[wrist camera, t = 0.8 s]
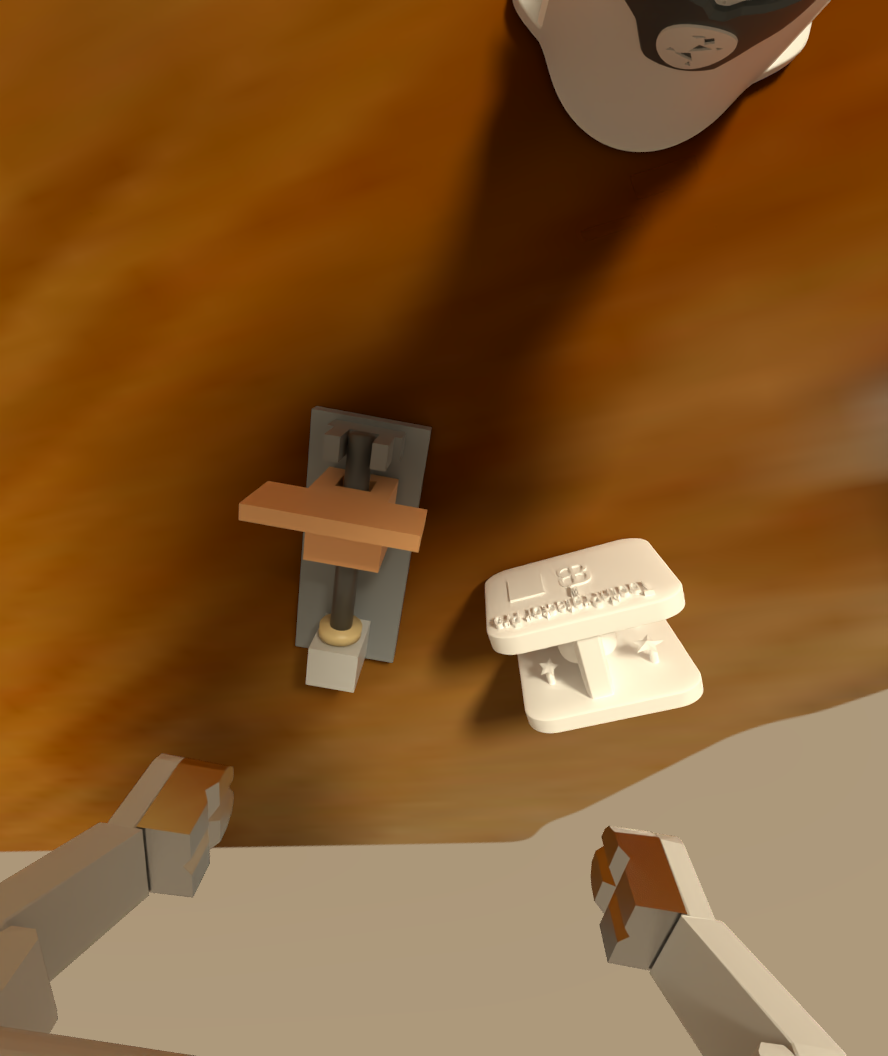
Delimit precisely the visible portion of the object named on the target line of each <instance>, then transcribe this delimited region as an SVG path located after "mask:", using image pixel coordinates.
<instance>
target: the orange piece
mask: <svg viewBox="0 0 888 1056" xmlns="http://www.w3.org/2000/svg"><path fill="white" fill-rule="evenodd" d="M344 477H345V469H340V468H334V467H329V468H328V469H327V470H326V471H325V472H324V473H323V474H322V475H321V476H320V477H319V478H318V479H317V480H316V481H315V482H314V483H313V484H312V485H311V486H310V487H309V488H305V487H300V486H294V485H289V484H283V483H278V482H272V481H267V482H266V483H265V484H263V485H262V486H261V487H259V488H258V489H257V490H255V491H254V492H253V493H252V494H250V495H249V496H248V497H246V498H245V499H244V500H242V501H241V502H240V503H239V520H241V521H246V522H252V523H257V524H263V525H268V526H274V527H280V528H285V529H291V530H296V531H302V532H305V539H304V553H303V560H309V561H314V562H320V563H326V564H331V565H337V566H342V567H348V568H354V569H359V570H365V571H370V572H376V573H378V572H379V569H380V566H381V564H382V561H383V559H384V556H385V553H386V551H387V548H388V547H391V548H396V549H402V550H407V551H413V552H418V551H419V547H420V543H421V539H422V535H423V530H424V526H425V521H426V515H427V509H421V508H415V507H410V506H404V505H399V504H395V502H396V495H397V488H398V481H399V479H395V478H389V477H384V476H378V475H373V474H370V483H369V491H363V490H357V489H352V488H346V487H344Z"/></svg>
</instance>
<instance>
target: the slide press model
mask: <svg viewBox="0 0 888 1056" xmlns="http://www.w3.org/2000/svg"><path fill="white" fill-rule="evenodd" d="M431 430H432V427H429V426H423V425H418V424H412V423H407V422H401V421H396V420H391V419H385V418H380V417H374V416H369V415H363V414H358V413H353V412H347V411H342V410H336V409H331V408H325V407H320V406H316V407H314V408H312V412H311V427H310V441H309V456H308V470H307V485H306V488H309V487H310V486H311V485H312V484H313V483H314V482H315V481H316V480H317V479H318V478H319V477H320V476H321V475H322V474H323V473H324V472H325V471H326V470H327V469H328V468H329V467H334V468H340V469H345V477H344V487H346V488H352V489H357V490H363V491H369V483H370V474H373V475H378V476H384V477H389V478H395V479H399V481H398V488H397V495H396V502H395V504H399V505H404V506H410V507H415V508H419V504H420V497H421V491H422V485H423V479H424V473H425V467H426V461H427V455H428V449H429V443H430V436H431ZM304 539H305V532H303V542H302V557H301V571H300V586H299V600H298V614H297V629H296V643H295V646H299V647H305V648H309V649H308V661H307V673H306V685H312V686H318V687H324V688H329V689H335V690H341V691H346V692H352V693H354V690H355V687H356V684H357V681H358V678H359V675H360V671H361V668H362V665H363V662H364V659H365V658H368V659H373V660H379V661H385V662H390V663H393V660H394V655H395V650H396V644H397V638H398V632H399V626H400V619H401V613H402V607H403V601H404V595H405V589H406V583H407V577H408V571H409V565H410V558H411V552H412V551H407V550H402V549H396V548H391V547H388V548H387V551H386V553H385V556H384V559H383V561H382V564H381V566H380V569H379V572H378V573H376V572H370V571H365V570H359V569H354V568H348V567H342V566H337V565H331V564H326V563H320V562H314V561H309V560H303V553H304Z"/></svg>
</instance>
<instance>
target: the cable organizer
mask: <svg viewBox="0 0 888 1056" xmlns="http://www.w3.org/2000/svg"><path fill="white" fill-rule="evenodd" d="M485 604H486V626H487V633H488V636H489V639H490V642H491V645H492V648H493V649H494V650H495V651H496V652H498V653H501V654H505V655H516V654H518V663H519V670H520V677H521V685H522V692H523V700H524V707H525V712H526V715H527V718H528V721H529V724H530V725H531V727H532V728H534V729H535V730H537V731H539V732H543V733H558V732H563V731H568V730H573V729H578V728H583V727H587V726H592V725H597V724H602V723H607V722H612V721H616V720H621V719H626V718H631V717H636V716H640V715H645V714H650V713H655V712H660V711H665V710H669V709H674V708H679V707H683V706H687V705H689V704H691V703H693V702H695V701H696V700H698V699H699V698H700V697H701V695H702V693H703V684H702V678H701V674H700V672H699V670H698V669H697V667H696V666H695V664H694V663H693V661H692V659H691V658H690V656H689V655H688V653H687V652H686V650H685V649H684V647H683V646H682V644H681V643H680V641H679V640H678V638H677V636H676V635H675V633H674V632H673V630H672V629H671V627H670V626H669V624H668V623H667V621H666V620H665V619H668V618H670V617H672V616H674V615H676V614H678V613H679V612H680V611H681V610H682V609H683V608H684V606H685V599H684V594H683V588H682V584H681V582H680V581H679V580H678V578H677V577H676V576H675V575H674V574H673V572H672V571H671V570H670V569H669V567H668V566H667V565H666V564H665V562H664V561H663V560H662V559H661V557H660V556H659V555H658V554H657V552H656V551H655V550H654V549H653V547H652V546H651V545H650V544H649V542H648V541H646V540H644V539H639V538H628V539H621V540H616V541H612V542H609V543H605V544H601V545H597V546H594V547H590V548H586V549H582V550H579V551H575V552H571V553H567V554H564V555H560V556H556V557H553V558H549V559H545V560H541V561H538V562H534V563H530V564H526V565H523V566H519V567H515V568H511V569H508V570H504V571H502V572H499V573H497V574H495V575H493V576H492V577H490V578H489V579H488V580H487V581H486V583H485Z"/></svg>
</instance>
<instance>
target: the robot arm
mask: <svg viewBox="0 0 888 1056" xmlns="http://www.w3.org/2000/svg"><path fill="white" fill-rule="evenodd" d="M512 1H513V5H514V7H515V10H516V12H517V13H518V15H519V17H520V18H521V20H522V21H523V23H524V24H525V25H526V27H527V28H528V29H529V30H530V32H531V33H532V34H533V35H534V37H535V38H536V39H537V40H538V41H539V43H540V46H541V48H542V50H543V53H544V56H545V59H546V63H547V67H548V70H549V73H550V77H551V80H552V83H553V86H554V88H555V91H556V93H557V95H558V97H559V99H560V101H561V103H562V105H563V106H564V108H565V110H566V111H567V113H568V114H569V115H570V117H571V118H572V119H573V120H574V121H575V123H576V124H577V125H578V126H579V127H580V128H581V129H582V130H583V131H585V132H586V133H587V134H588V135H590V136H591V137H593V138H594V139H595V140H597V141H599V142H601V143H603V144H605V145H607V146H610V147H613V148H616V149H619V150H623V151H630V152H650V151H657V150H662V149H665V148H669V147H672V146H675V145H677V144H680V143H682V142H684V141H686V140H688V139H690V138H692V137H693V136H695V135H697V134H698V133H700V132H701V131H703V130H704V129H705V128H707V127H708V126H709V125H711V124H712V123H713V122H714V121H715V120H716V119H717V118H719V117H720V116H721V115H722V114H723V113H724V112H725V111H726V109H727V108H728V107H729V106H730V105H731V104H732V103H733V102H734V101H735V100H736V99H737V98H738V97H739V95H740V94H742V93H743V92H744V91H745V90H746V89H747V88H748V87H749V86H750V85H752V84H753V83H755V82H757V81H759V80H762V79H764V78H765V77H767V76H769V75H771V74H773V73H775V72H777V71H779V70H780V69H782V68H783V67H785V66H786V65H788V64H789V63H790V62H791V61H792V60H793V59H794V58H795V57H796V56H797V55H798V54H799V52H800V51H801V50H802V49H803V48H804V46H805V44H806V42H807V40H808V37H809V33H810V29H811V24H812V21H813V20H814V18H815V17H816V16H817V15H818V14H819V13H820V12H821V11H822V10H823V8H824V7H825V6H826V5H827V4H828V3H829V2H830V1H831V0H512ZM233 778H234V773H233V767H232V766H227V765H222V764H217V763H212V762H206V761H201V760H196V759H191V758H185V757H179V756H174V755H168V754H161V755H159V756H158V757H157V758H156V759H154V760H153V762H152V763H151V764H150V766H149V767H148V768H147V770H146V771H145V773H144V774H143V775H142V777H141V778H140V779H139V781H138V782H137V783H136V785H135V786H134V787H133V789H132V790H131V792H130V793H129V794H128V796H127V797H126V798H125V800H124V801H123V802H122V804H121V805H120V807H119V808H118V809H117V811H116V812H115V813H114V815H113V816H112V817H111V819H110V820H109V822H108V823H98V824H96V825H95V826H93V827H91V828H90V829H88V830H86V831H85V832H83V833H81V834H80V835H78V836H77V837H75V838H73V839H72V840H70V841H68V842H67V843H65V844H63V845H62V846H60V847H58V848H57V849H55V850H53V851H52V852H50V853H48V854H47V855H45V856H44V857H42V858H40V859H39V860H37V861H35V862H34V863H32V864H30V865H29V866H27V867H25V868H24V869H22V870H20V871H19V872H17V873H15V874H14V875H12V876H10V877H9V878H7V879H6V880H4V881H2V882H1V883H0V1056H194V1055H187V1054H180V1053H174V1052H167V1051H160V1050H153V1049H147V1048H141V1047H135V1046H127V1045H121V1044H114V1043H108V1042H102V1041H95V1040H88V1039H82V1038H75V1037H69V1036H62V1035H56V1034H49V1033H50V1032H51V1030H52V1028H53V1026H54V1025H55V1023H56V1021H57V1019H58V1016H57V1008H56V1004H55V1000H54V997H53V993H52V989H51V985H50V981H51V980H52V979H54V978H55V977H56V976H57V975H58V974H59V973H60V972H62V971H63V970H64V969H65V968H66V967H67V966H68V965H70V964H71V963H72V962H73V961H74V960H75V959H77V958H78V957H79V956H80V955H81V954H82V953H83V952H85V951H86V950H87V949H88V948H89V947H90V946H91V945H92V944H94V943H95V942H96V941H97V940H98V939H99V938H100V937H102V936H103V935H104V934H105V933H106V932H107V931H109V930H110V929H111V928H112V927H113V926H114V925H115V924H116V923H118V922H119V921H120V920H121V919H122V918H123V917H125V916H126V915H127V914H128V913H129V912H130V911H131V910H133V909H134V908H135V907H136V906H137V905H138V904H139V903H141V901H143V900H144V899H145V898H146V897H147V896H149V892H153V893H161V894H169V895H177V896H185V897H193V896H194V894H195V892H196V890H197V888H198V886H199V884H200V882H201V880H202V878H203V876H204V874H205V872H206V870H207V868H208V866H209V864H210V856H209V854H210V853H209V850H210V849H211V848H212V847H214V846H215V845H216V844H218V843H219V842H220V841H221V839H222V837H223V835H224V833H225V830H226V828H227V825H228V822H229V819H230V816H231V813H232V808H233V802H234V793H233V791H232V790H231V789H230V788H229V786H230V784H231V782H232V780H233ZM602 841H603V845H604V846H603V847H601V848H600V849H598V850H597V851H596V852H595V854H594V857H593V860H592V866H591V885H592V891H593V896H594V901H595V902H596V904H597V905H598V906H599V908H600V909H601V910H602V911H603V913H604V916H603V918H602V920H601V923H600V929H601V934H602V938H603V943H604V948H605V952H606V957H607V961H608V963H613V964H618V965H623V966H628V967H634V968H639V969H645V970H650V975H651V976H652V978H653V979H654V981H655V982H656V984H657V986H658V987H659V988H660V990H661V991H662V993H663V995H664V996H665V998H666V999H667V1001H668V1003H669V1004H670V1005H671V1007H672V1008H673V1010H674V1011H675V1013H676V1015H677V1016H678V1018H679V1019H680V1021H681V1023H682V1024H683V1026H684V1027H685V1029H686V1030H687V1032H688V1033H689V1035H690V1036H691V1038H692V1039H693V1041H694V1043H695V1044H696V1046H697V1047H698V1049H699V1050H700V1052H701V1053H702V1055H703V1056H846V1054H845V1052H844V1051H843V1050H842V1049H841V1048H840V1047H839V1046H838V1045H837V1044H836V1043H835V1042H834V1040H833V1039H832V1038H831V1037H830V1036H829V1035H828V1034H827V1033H826V1032H825V1031H824V1030H823V1029H822V1028H821V1026H819V1024H818V1023H817V1022H816V1021H815V1020H814V1019H813V1018H812V1017H811V1016H810V1015H809V1014H808V1013H807V1011H805V1009H804V1008H803V1007H802V1006H801V1005H800V1004H799V1003H798V1002H797V1001H796V1000H795V999H794V997H793V996H792V995H791V994H790V993H789V992H788V991H787V990H786V989H785V988H784V987H783V986H782V985H781V983H780V982H779V981H778V980H777V979H776V978H775V977H774V976H773V975H772V974H771V973H770V972H769V971H768V970H767V969H766V967H765V966H764V965H763V964H762V963H761V962H760V961H759V960H758V959H757V958H756V957H755V956H754V955H753V953H752V952H751V951H750V950H749V949H748V948H747V947H746V946H745V945H744V944H743V943H742V942H741V940H740V939H739V938H738V937H737V936H736V935H735V934H734V933H733V932H732V931H731V930H730V929H729V928H728V926H727V925H725V923H724V922H723V921H719V920H715V918H714V916H713V913H712V911H711V908H710V906H709V903H708V901H707V899H706V896H705V894H704V891H703V889H702V887H701V884H700V882H699V879H698V877H697V875H696V872H695V870H694V867H693V865H692V863H691V861H690V858H689V856H688V853H687V851H686V848H685V846H684V844H683V842H682V841H681V839H680V838H679V837H676V836H670V835H664V834H657V833H653V832H648V831H641V830H634V829H627V828H620V827H614V826H608V827H607V828H606V829H605V830H604V832H603V835H602Z"/></svg>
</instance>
